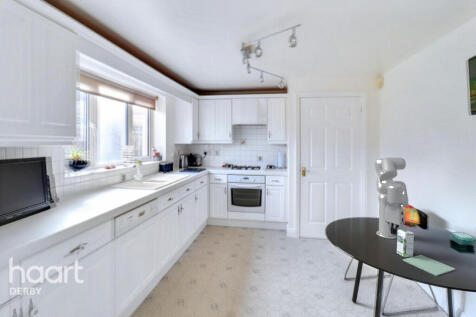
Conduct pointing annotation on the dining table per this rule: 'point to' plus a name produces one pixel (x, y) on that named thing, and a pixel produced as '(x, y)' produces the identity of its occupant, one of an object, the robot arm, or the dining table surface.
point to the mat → (429, 265)
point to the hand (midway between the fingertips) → (393, 233)
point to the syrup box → (405, 243)
